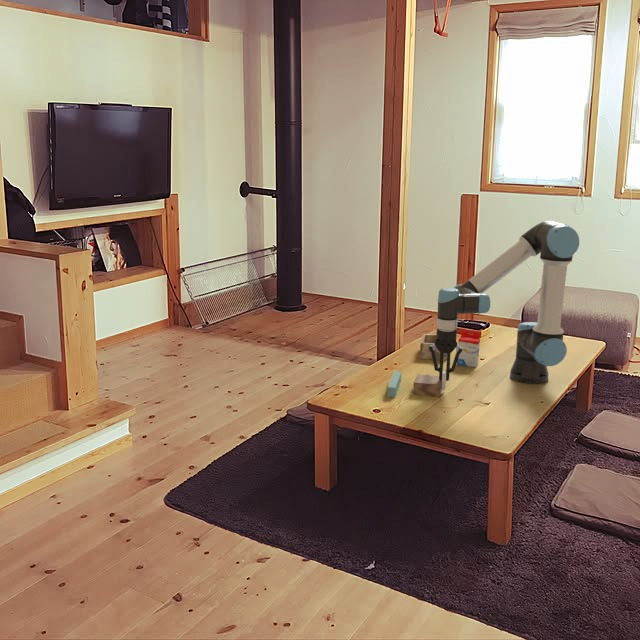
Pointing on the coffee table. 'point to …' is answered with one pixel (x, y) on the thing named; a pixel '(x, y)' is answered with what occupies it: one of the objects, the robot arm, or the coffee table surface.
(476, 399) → the coffee table surface
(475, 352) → the ink box
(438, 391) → the block
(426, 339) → the box
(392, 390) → the teal long rectangular bar
